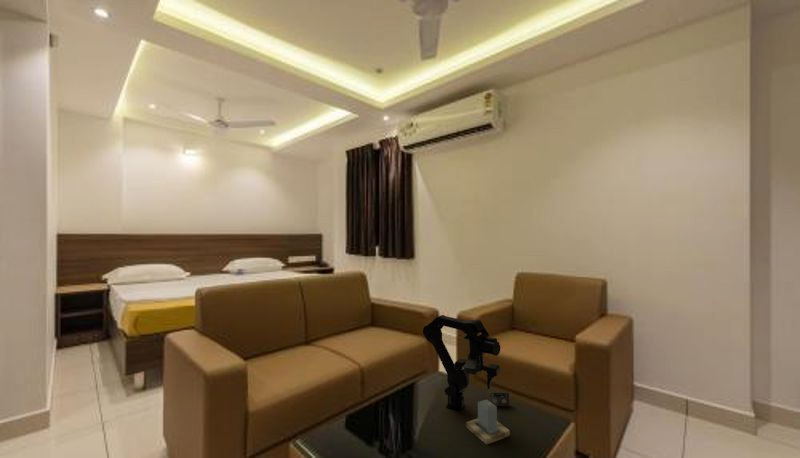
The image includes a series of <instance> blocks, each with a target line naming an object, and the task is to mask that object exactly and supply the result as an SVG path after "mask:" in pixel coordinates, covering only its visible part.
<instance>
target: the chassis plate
mask: <svg viewBox="0 0 800 458" xmlns="http://www.w3.org/2000/svg"><path fill="white" fill-rule="evenodd" d="M477 419H478V417H476V418H474V419H471V420H469V421H466V422H465V427H466V428H467V429H468V430H469V431H470V432H471V433H472V434H473V435H475V436H476V437H477V439H479V440H480V441H481V442H483V443H484V444H485V445H490V444H492V443H495V442H497V441H500V440H502V439H505V438H507V437H510V435H511V432H510V429H509V428H507V427H506V426H504V424H502V423H500V422H499V421H497V427H498V428H499V429H500V431H498V432H497V433H494V434H490V433H489V434H487V433H485V432H484V431H483V430H482V429H481V428H479V427H478V423H476V421H475V420H477Z"/></svg>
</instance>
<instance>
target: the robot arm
mask: <svg viewBox="0 0 800 458" xmlns="http://www.w3.org/2000/svg"><path fill="white" fill-rule="evenodd" d="M444 327H447V328H451V329H453V330H458V331H461V332H463V333H464V335H465V336H464V338H463V339H464V340H468V351H469V352H468V354H467V359H464V358H458V359H457V360H456V361H455V362H454V360H453V359H452V356H451V354H450V353H449V350H448V349H447V347H446V344H445V342H444V341H443V331H442V329H443V328H444ZM422 328H423V329H422V334H423V336H424V337H425V339H426V341H427V342H429V343H430V344H431V345H432V346H433V348H434V350H435V352H436V354H437V356H438V358H439V360H440V362H441V364H442V366H443V368H444V370H445V372H446V376H447V384H448V386H447V387H446V388H444V394H445V395H446V396H447V404H446V405H445V407H446V408H447V409H451V410H454V411H456V412H460V411H461V410H462V409H463V408H464V406H465V397H464V393H465V391H466V390H467V389H468V386H469V384H470V374H471V375H473V376H475V375H477V374H478V372H482V371H485V372H486V375H485V376H486V378H487V379H486V381H487V382H486V383H487V384H486V385H487V388H486V389H487V390H490V387H491V385H492V382H493V380H494V378H495V377H497V376H499V374H500V373H501V371H502V370H501V366H500V365H499V364H494V363H490V364H489V365H485V360H484V355H485V354H487V355H490V356H491V355H492V356H495V357H497V356H499V354H500V352H501V344H500V342H499V341H498V338H496V337H490V334H489V332H488V331H487V329H486V328H485V326H484V324H483V323H482V321H481V320H480V319H467V320H466V319H460V318H456V317H451V316H446V315H445V314H442V315H438V316H436V317H435V318H434V319H433V320H432V321H431V322H430V323H428V324H427V325H425V326H424V327H422Z"/></svg>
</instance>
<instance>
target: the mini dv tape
mask: <svg viewBox="0 0 800 458" xmlns="http://www.w3.org/2000/svg"><path fill="white" fill-rule="evenodd" d="M509 399H510V394H509V391H489V401H490V402H491V403H492V404H494V405H495V406H497V407H509V406H510V400H509Z"/></svg>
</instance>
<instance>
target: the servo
mask: <svg viewBox="0 0 800 458" xmlns="http://www.w3.org/2000/svg"><path fill="white" fill-rule="evenodd" d="M497 408H498V406H495V405H494V404H492V403H491V402H490V400H488V399H484V400H480V401H477V418H478V419H477V418H476V419H477V420H475V421H476V423H478V427H479V428H481V429H482V430H483V431H484V432H485V433H487V434H489V433H490V434H494V433H497V432H498V431H500V429H499V428H498V427H497V422H498V409H497Z"/></svg>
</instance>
